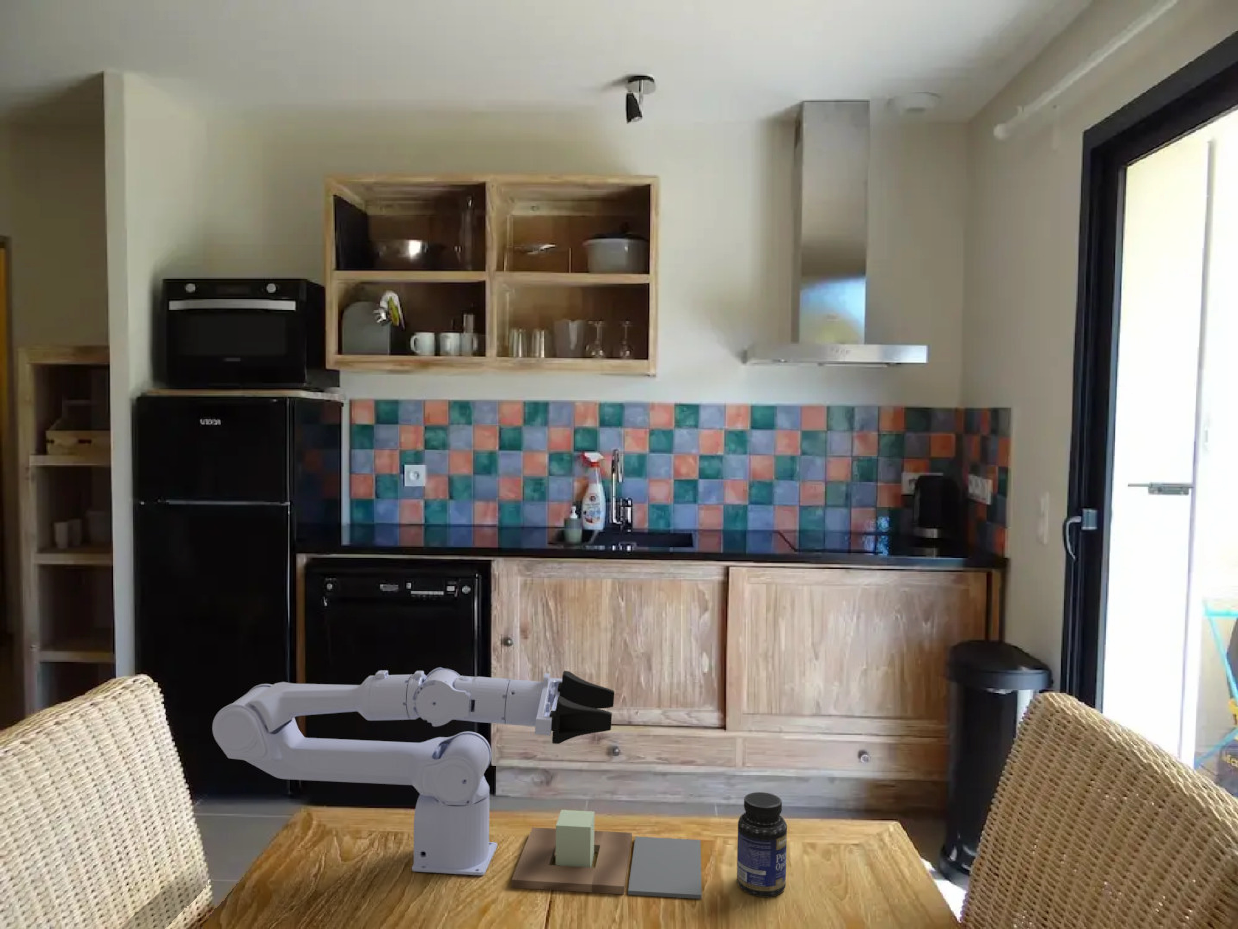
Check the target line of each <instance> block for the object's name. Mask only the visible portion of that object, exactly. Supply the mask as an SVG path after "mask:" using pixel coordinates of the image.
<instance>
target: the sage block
mask: <svg viewBox="0 0 1238 929" xmlns="http://www.w3.org/2000/svg"><path fill="white" fill-rule="evenodd" d="M595 817H596V816H595V811H590V810H589V811H588V810H571V809H561V810H560V812H559V815H558V817H557V818H558V819H557V821H556V824H555V829H556V852H555V866H572V867H589V868H592V866H593V861H594V857H595V852H594V831H595Z"/></svg>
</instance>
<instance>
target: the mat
mask: <svg viewBox="0 0 1238 929" xmlns="http://www.w3.org/2000/svg"><path fill="white" fill-rule="evenodd" d="M701 846H702V845H701V839H692V838H691V839H688V838H687V839H686V838H673V837H672V838H671V837H670V838H669V837H651V836H650V837H649V836H635V839H634V844H633V852H632V859H631V867H630V874H629V875H630V876H629V880H628V886H627V887H628V888H627V895H629V896H647V897H660V898H662V897H664V898H665V897H666V898H682V899H695V900H696V899H697V900H698V899H699V900H700V899H701V900H702V898H703V897H702V896H703V895H702V894H703V893H702V855H701V854H702V851H701V850H702V849H701V848H702V847H701Z"/></svg>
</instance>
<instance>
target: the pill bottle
mask: <svg viewBox="0 0 1238 929" xmlns="http://www.w3.org/2000/svg"><path fill="white" fill-rule="evenodd" d="M743 809H744V811H745V812H744V813H742V814H741V815H740V816H739V817H738V821H737V854H736V861H737V862H736V882H737V884H738V886H739V888H741V890H742V891H744V892H746V893H747V894H750V895H752V896H755V897H761V898H763V897H765V898H767V897H769V898H770V897H775V896H779V895H780V894H781V893H783V892H784V890H785V888H786V885H787V882H786V880H787V878H786V877H787V847H788V846H787V842H788V840H787V838H788V837H787V836H788V825H787V822H786V820H785V819H784V818H783V816H781V813H782V810H783V801H782V799H781V798H780V797H779V796H777V795H775V794H774V793H769V792H763V791H761V792H759V791H756V792H754V791H753V792H750V793H748V794H746V795H745V796H744V799H743Z"/></svg>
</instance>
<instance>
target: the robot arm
mask: <svg viewBox="0 0 1238 929" xmlns="http://www.w3.org/2000/svg"><path fill="white" fill-rule="evenodd" d="M561 677H562V678H558V677H551V673H548V672H545V673H544V674H543V679H542V680H543V681H537V680H528V679H527V680H525V679H514V678H513V679H512V678H500V677H487V676H467V675H460V674H459V673H458V672H457V671H455V670H452V669H450V668H443V667H436V668H434V669H432V670H431V671H430V672H429V673H428V674H427V675H426V674H425V671H424V670H416V671H415V672H414V674H389V670H387V669H386V670H385V669H384V670H378V671H377V672H375V675H368V677H366V678H365V679H364V681H362V683H361V684H333V683H332V684H324V683H320V684H319V683H318V684H317V683H293V682H286V681H281V682H276V683H274V684H270V683H260V684H258V685H255V686H253V687H252V688H251V689H250V690H249V691H247V692H246V693H245V694H244V695H243V696H241V697H240V698H238V699H236V700H234V702H233V703H232V702H231V703H229V704H228V705H226V706H224V707H222V708H220V710H219V711H218V712H217V713H216V715H215V716H214V718H213V721H212V727H211V728H212V729H211V730H212V735H213V737H214V740H215V742H216V743H217V745H218V746H219V747H220V748H221V751H223V753H224V754H225V755H226V757H227V758H228V759H232V760H241V761H244V762H245V761H246V762H247V763H249V764H251V766H255V767H256V768H258V769H260V770H262V771H263V772H265V773H266V774H269V775H271V776H272V777H274V778H277V779H280V780H281V779H282V780H297V781H314V782H315V781H319V782H337V783H338V782H339V783H341V782H342V783H358V784H359V783H360V784H362V783H363V784H382V785H384V784H385V785H400V786H402V785H403V786H404V785H405V786H413V788H415V790H416V791H417V792H418V793H419V795H418V798H417V801H416V804H415V809H414V816H413V817H414V818H413V865H412V866H411V871H412V872H420V873H435V874H436V873H437V874H450V875H452V874H454V875H466V876H467V875H470V876H484V875H485V873H486V872H487V869H488V868H489V866H490V863H491V861H492V859H493V857H494V854H495V853H496V850H497V848H498V843H497V842H494V841H490V785H489V783H488V782H487V780H486V777H485V775H484V774H485V773H486V770H487V769H489V766H490V764H491V761H492V755H493V754H492V749H491V745H490V743H489V742H488V740H487V739H486V738H485V737H484V736H483V735H481V734H480V733H477V732H474V731H469V730H468V731H462V732H459V733H457V734H455V735H452V736H448V737H445V736H438V737H434V738H431V739H427V740H426V741H421V742H409V741H408V742H406V741H386V740H385V741H384V740H383V741H382V740H365V739H364V740H363V739H362V740H361V739H339V738H322V737H321V738H320V737H319V738H317V737H305V736H304V735H303V733H302V732H301V731H300V729H299V726H298V724H297V721H296V717H299V716H311V715H324V714H325V715H326V714H327V715H328V714H338V713H353V712H357V713H358V714H360V715H361V716H362V717H363V718H364V719H365V720H367V721H400V720H401V721H404V720H417V719H419V718H421V719H422V720H423V721H427V722H426V723H428V724H429V723H431V726H432V727H441V726H444V725H446V724H448V723H449V722H451V721H453V720H454V721H455V720H456V721H465V722H466V721H467V722H475V723H486V724H487V723H488V724H498V725H500V724H501V725H509V726H511V725H512V726H523V727H534V735H537V736H539V735H540V736H551V733H552V737H551V739H552V740H551V744H555V745H560V744H562V743H564V742H566V741H568V740H571V739H573V738H577V737H579V736H585V735H589V734H590V735H591V734H596V733H603V732H608V731H611V730H612V720H613V719H612V718H613V712H611V711H608V710H605V709H610V708H614V704H615V703H614V702H615V701H614V700H615V690H613V689H611V688H608V687H604V686H601V685H598V684H595V683H592V682H589V681H586V680H585V679H583V678H580V677H579V676H577V675H575V674H574V673H573V672H572V671H570V670H569V671H568V670H564V671H563V672H562V676H561Z"/></svg>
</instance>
